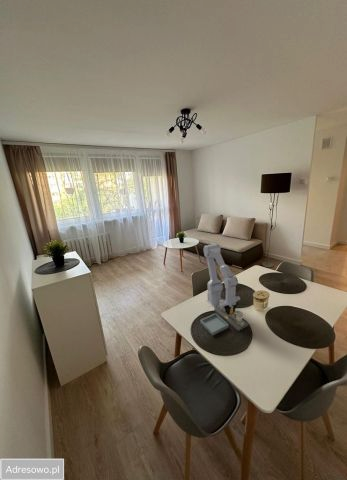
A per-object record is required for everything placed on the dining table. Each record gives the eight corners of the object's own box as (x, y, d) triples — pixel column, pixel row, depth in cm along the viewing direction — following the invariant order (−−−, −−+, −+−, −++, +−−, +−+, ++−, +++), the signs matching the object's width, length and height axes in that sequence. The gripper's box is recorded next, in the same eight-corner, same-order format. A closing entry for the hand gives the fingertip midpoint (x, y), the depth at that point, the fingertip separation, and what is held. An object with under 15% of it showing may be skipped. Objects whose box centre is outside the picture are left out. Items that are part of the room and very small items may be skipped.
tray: (200, 323, 118) (200, 320, 117) (215, 316, 123) (215, 313, 122) (212, 336, 108) (212, 332, 107) (228, 327, 113) (228, 324, 112)
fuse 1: (218, 308, 128) (218, 299, 126) (222, 306, 129) (222, 298, 127) (222, 311, 125) (222, 302, 123) (226, 309, 126) (226, 300, 124)
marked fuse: (226, 314, 121) (226, 305, 119) (230, 312, 123) (230, 303, 121) (230, 317, 118) (230, 308, 116) (234, 315, 120) (234, 306, 118)
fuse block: (214, 310, 129) (214, 306, 128) (223, 306, 132) (223, 302, 131) (238, 331, 110) (238, 326, 109) (248, 325, 113) (248, 321, 112)
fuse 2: (234, 322, 115) (235, 312, 113) (239, 319, 116) (239, 310, 114) (239, 325, 112) (239, 315, 110) (243, 323, 113) (243, 313, 111)
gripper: (226, 301, 109) (225, 320, 113) (244, 293, 115) (243, 312, 119) (218, 295, 115) (218, 314, 119) (235, 288, 121) (235, 306, 126)
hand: (230, 312), depth 120 cm, fingers closed on marked fuse, 3 cm apart
